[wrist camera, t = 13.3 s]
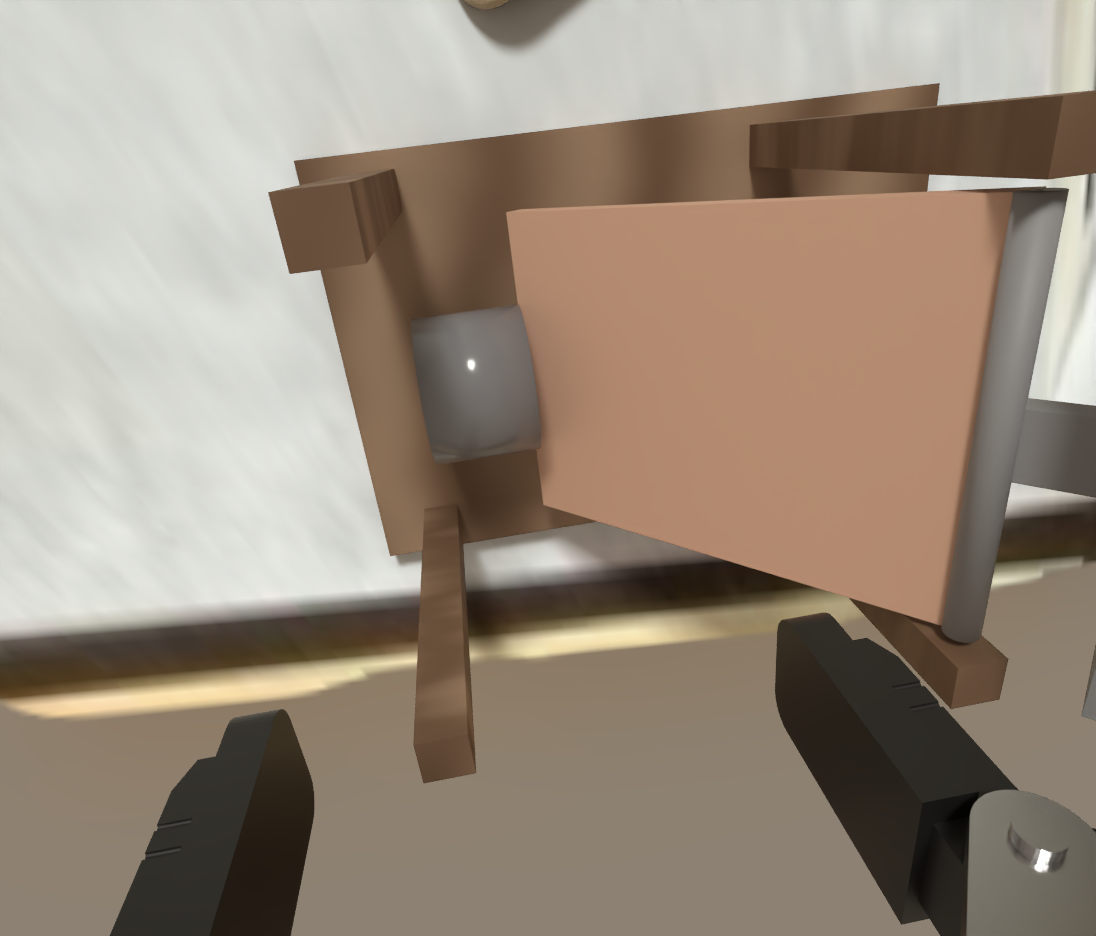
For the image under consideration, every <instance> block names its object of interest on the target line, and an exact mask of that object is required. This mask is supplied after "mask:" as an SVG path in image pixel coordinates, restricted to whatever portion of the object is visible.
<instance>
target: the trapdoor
mask: <svg viewBox="0 0 1096 936" xmlns="http://www.w3.org/2000/svg"><path fill="white" fill-rule="evenodd" d="M1068 191H1069V189H1067V188H1046V186H1045V187H1022V188H999V189H976V190H953V191H930V192H907V193H884V194H861V195H838V196H815V197H792V198H768V199H745V200H722V201H699V202H676V203H653V204H630V205H607V206H584V207H561V208H538V209H520V210H515V211H510V212H506V216H507V223H508V231H509V239H510V247H511V255H512V262H513V270H514V278H515V286H516V294H517V302H518V304H519V306H520V308H521V311H522V315H523V318H524V323H525V327H526V332H527V337H528V342H529V347H530V353H531V359H532V365H533V371H534V378H535V384H536V392H537V400H538V408H539V417H540V429H541V448H540V449H536V450H537V458H538V466H539V474H540V482H541V489H542V497H543V505H546V506H549V507H552V508H555V509H559V510H562V511H565V512H569V513H572V514H575V515H578V516H582V517H585V518H588V519H592V520H595V521H598V522H602V523H605V524H608V525H611V526H615V527H618V528H621V529H625V530H628V531H631V532H634V533H638V534H641V535H644V536H648V537H651V538H654V539H658V540H661V541H664V542H667V543H671V544H674V545H677V546H681V547H684V548H687V549H690V550H694V551H697V552H700V553H704V554H707V555H710V556H714V557H717V558H720V559H723V560H727V561H730V562H733V563H737V564H740V565H743V566H746V567H750V568H753V569H756V570H760V571H763V572H766V573H770V574H773V575H776V576H779V577H783V578H786V579H789V580H793V581H796V582H799V583H802V584H806V585H809V586H812V587H816V588H819V589H822V590H826V591H829V592H832V593H835V594H839V595H842V596H845V597H849V598H852V599H855V600H858V601H862V602H865V603H868V604H872V605H875V606H878V607H881V608H885V609H888V610H891V611H895V612H898V613H901V614H905V615H908V616H911V617H914V618H918V619H921V620H924V621H928V622H931V623H934V624H937V625H941V626H942V627H941V629H942V632H943V633H944V634H945V635H946V636H947V637H949V638H950V639H952V640H955V641H958V642H962V643H973V642H976V641H978V640H979V639H980V638H981V634H982V628H983V624H984V618H985V614H986V608H987V603H988V598H989V593H990V588H991V583H992V578H993V573H994V568H995V563H996V558H997V552H998V547H999V542H1000V537H1001V532H1002V527H1003V522H1004V517H1005V512H1006V507H1007V502H1008V497H1009V491H1010V486H1011V482H1012V483H1018V484H1023V485H1029V486H1035V487H1040V488H1046V489H1051V490H1057V491H1062V492H1068V493H1074V494H1079V495H1085V496H1090V497H1096V406H1092V405H1083V404H1074V403H1065V402H1057V401H1048V400H1039V399H1030V398H1028V395H1029V390H1030V385H1031V380H1032V374H1033V369H1034V364H1035V359H1036V354H1037V349H1038V344H1039V339H1040V334H1041V329H1042V324H1043V318H1044V313H1045V308H1046V303H1047V298H1048V293H1049V288H1050V283H1051V278H1052V273H1053V268H1054V263H1055V257H1056V252H1057V247H1058V242H1059V237H1060V232H1061V227H1062V222H1063V217H1064V212H1065V207H1066V201H1067V196H1068ZM1082 716H1083V717H1086V718H1089V719H1092V720H1095V721H1096V646H1095V651H1094V656H1093V661H1092V666H1091V671H1090V676H1089V681H1088V686H1087V692H1086V696H1085V701H1084V707H1083V711H1082Z"/></svg>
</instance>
